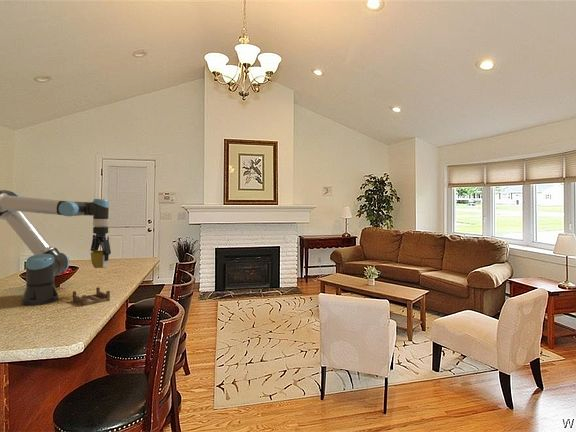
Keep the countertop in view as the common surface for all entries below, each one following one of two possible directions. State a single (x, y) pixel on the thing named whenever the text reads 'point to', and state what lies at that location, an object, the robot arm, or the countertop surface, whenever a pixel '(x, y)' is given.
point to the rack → (92, 297)
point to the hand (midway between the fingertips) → (100, 265)
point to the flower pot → (97, 259)
